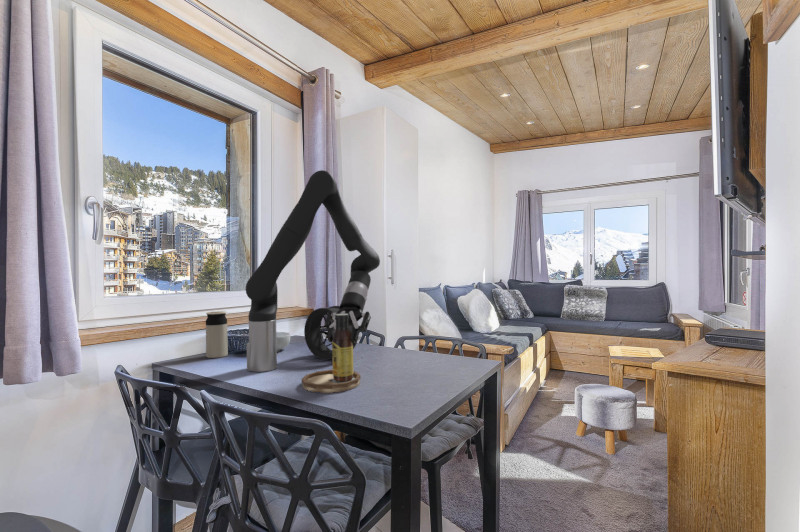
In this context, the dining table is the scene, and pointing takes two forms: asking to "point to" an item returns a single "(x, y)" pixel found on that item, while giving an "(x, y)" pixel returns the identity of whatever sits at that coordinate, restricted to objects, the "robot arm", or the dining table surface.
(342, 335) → the sauce bottle
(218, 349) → the travel mug
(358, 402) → the dining table surface
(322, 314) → the wheel rim
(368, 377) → the dining table surface
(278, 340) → the cereal bowl
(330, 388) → the brown round tray
